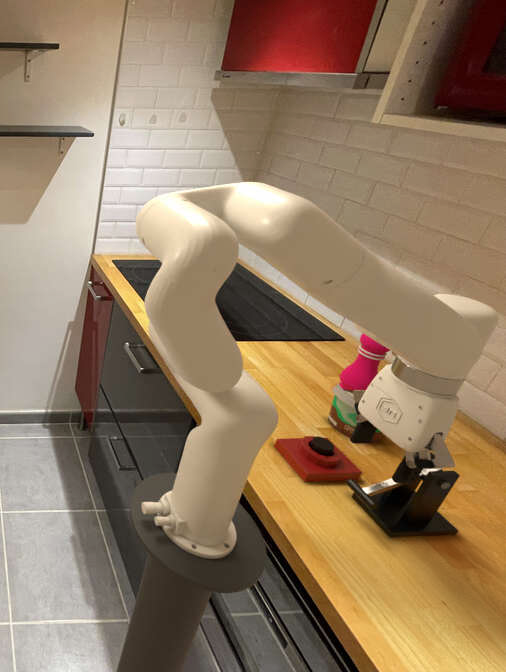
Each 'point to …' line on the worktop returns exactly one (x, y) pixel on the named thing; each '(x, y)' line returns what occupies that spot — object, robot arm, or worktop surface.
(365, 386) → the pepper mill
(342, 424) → the food container
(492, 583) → the worktop surface
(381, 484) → the lever
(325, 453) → the stop button
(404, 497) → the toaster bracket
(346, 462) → the block
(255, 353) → the worktop surface
